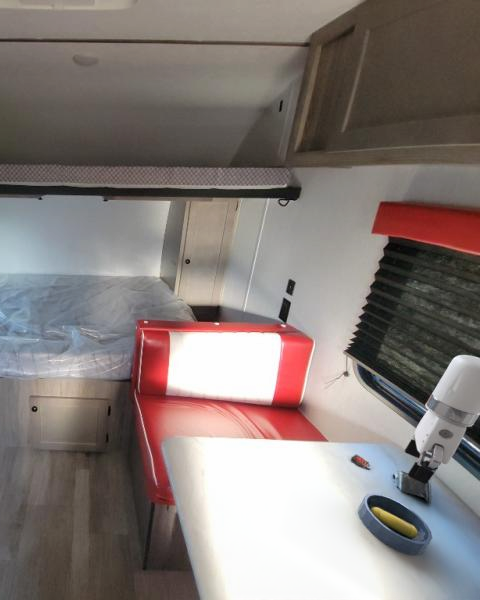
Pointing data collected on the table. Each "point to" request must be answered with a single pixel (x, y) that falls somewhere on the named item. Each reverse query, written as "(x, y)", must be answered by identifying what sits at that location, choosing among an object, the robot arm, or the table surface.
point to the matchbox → (359, 460)
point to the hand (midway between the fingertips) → (414, 466)
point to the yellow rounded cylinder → (394, 522)
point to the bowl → (390, 535)
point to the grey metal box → (413, 485)
